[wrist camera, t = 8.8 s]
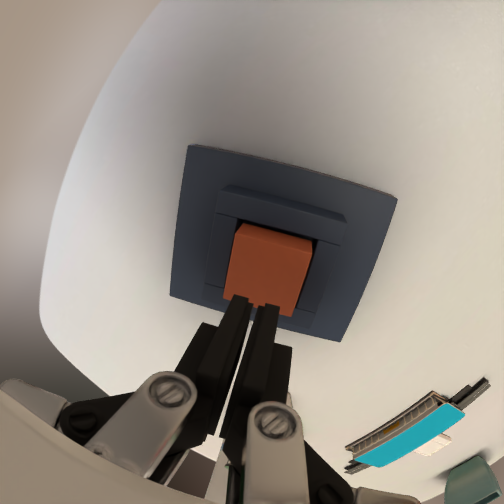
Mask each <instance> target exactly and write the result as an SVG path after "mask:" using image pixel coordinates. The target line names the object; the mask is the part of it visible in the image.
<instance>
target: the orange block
mask: <svg viewBox="0 0 504 504" xmlns="http://www.w3.org/2000/svg"><path fill="white" fill-rule="evenodd" d="M311 256H312V241H310V240H306V239H303V238H299V237H295V236H291V235H288V234H284V233H280V232H276V231H273V230H269V229H265V228H261V227H257V226H253V225H250V224H246V223H243V224H242V225H241V227H240V228H239V229H238V231H237V232H236V233H235V237H234V242H233V248H232V253H231V258H230V263H229V268H228V273H227V278H226V283H225V289H224V294H223V298H224V299H227V300H230V301H231V299H232V297H233V295H234V294H236V295H240V296H243V297H247V298H249V301H248V302H250V303H253V304H254V305H253V307H255V308H258V305H260V306H265V303H269V304H272V305H276V306H280V312H279V314H281V315H285V316H289V317H291V316H292V314H293V311H294V308H295V305H296V302H297V299H298V296H299V293H300V290H301V287H302V284H303V281H304V278H305V275H306V272H307V269H308V266H309V263H310V260H311Z"/></svg>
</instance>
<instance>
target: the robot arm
mask: <svg viewBox="0 0 504 504" xmlns="http://www.w3.org/2000/svg"><path fill="white" fill-rule="evenodd" d="M248 301H249V298H247V297H243V296H240V295H236V294H234V295H233V297H232V299H231V301H230V303H229V306H228V308H227V310H226V312H225V314H224V316H223V318H222V320H221V322H220V324H219V326H218V327H217V326H213V325H210V324H207V323H204V322H203V323H202V324H201V325H200V327H199V328H198V330H197V332H196V334H195V335H194V337H193V339H192V341H191V342H190V344H189V346H188V348H187V350H186V351H185V353H184V355H183V357H182V358H181V360H180V362H179V364H178V365H177V367H176V369H175V371H174V372H172V371H163V372H158V373H155V374H153V375H152V376H150V377H149V378H148V379H147V380H146V381H145V382H144V383H143V384H142V385H141V386H140V387H139V388H138V389H137V390H136V391H135V392H131V393H126V394H121V395H115V396H110V397H104V398H99V399H92V400H86V401H79V402H75V403H69V402H67V400H66V398H63V397H60V396H58V395H55V394H52V393H50V392H47V391H45V390H42V389H40V388H38V387H35V386H33V385H30V384H28V383H26V382H24V381H22V380H19V379H8V380H7V381H5V382H3V383H2V384H1V385H0V504H220V503H216V502H213V501H209V500H205V499H202V498H199V497H195V496H192V495H189V494H186V493H183V492H180V491H177V490H174V489H171V488H168V487H166V486H167V485H168V483H169V482H170V480H171V479H172V477H173V476H174V474H175V473H176V471H177V470H178V468H179V467H180V465H181V464H182V462H183V460H184V459H185V457H186V456H187V454H188V453H189V450H190V448H193V447H196V446H199V445H202V443H203V441H204V442H205V440H206V437H207V434H210V435H213V436H214V433H215V431H216V428H217V425H218V422H219V419H220V416H221V413H222V410H223V407H224V404H225V401H226V398H227V395H228V392H229V389H230V386H231V383H232V380H233V377H234V374H235V371H236V368H237V365H238V362H239V358H240V354H241V351H242V347H243V343H244V339H245V336H246V332H247V328H248V324H249V320H250V317H251V313H252V309H253V305H254V304H253V303H250V302H248ZM279 312H280V306H276V305H272V304H269V303H265V306H260V305H258V308H257V312H256V315H255V318H254V321H253V325H252V328H251V331H250V334H249V338H248V341H247V344H246V347H245V350H244V354H243V357H242V360H241V363H240V366H239V369H238V373H237V376H236V379H235V382H234V386H233V389H232V393H231V396H230V400H229V403H228V407H227V410H226V414H225V418H224V421H223V425H222V428H221V432H220V435H219V437H220V438H224V439H225V442H224V445H223V449H222V451H223V452H224V454H225V455H226V457H227V458H228V459H229V461H230V463H229V469H228V480H227V491H226V502H225V504H421V503H420V501H419V500H417V499H416V498H415V497H412V496H408V495H401V494H395V493H389V492H383V491H378V490H373V489H369V488H364V487H359V488H353V487H350V485H349V484H348V483H347V482H346V481H345V480H344V479H343V478H342V477H341V476H340V475H339V474H338V473H337V472H336V471H335V470H334V469H333V468H332V467H331V466H330V465H328V464H327V463H326V462H325V461H324V460H323V459H322V458H321V457H320V456H319V455H318V454H317V453H316V452H315V451H314V450H313V449H312V447H311V446H310V445H309V444H308V443H307V442H306V441H305V440H304V436H303V427H302V421H301V418H300V416H299V415H298V413H297V412H296V411H295V410H294V409H293V408H291V407H290V406H288V405H286V402H287V393H288V385H289V376H290V367H291V358H292V347H289V346H285V345H281V344H277V343H274V340H275V334H276V329H277V323H278V318H279Z"/></svg>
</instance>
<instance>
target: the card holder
mask: <svg viewBox="0 0 504 504" xmlns="http://www.w3.org/2000/svg"><path fill="white" fill-rule="evenodd" d="M488 383H489V382H488V381H486V379H485V378H483V379H482V380H481V381H480V382H479V383H478V384H477V385H475V386H474V387H473V388H472V387H470V386H469V385H467V386H466V387H465V388H464V389H462V390H461V391H460V392H459V393H458V394H456V395H455V396H454V397H453V398H451V399H450V400H449V401H448V400H446V399H445V398H443V397H442V396H440V395H439V394H437V393H435V392H434V391H431V392H430V393H429V394H428V395H426V396H425V397H424V398H422V399H421V400H420V401H418V402H417V403H415V404H414V405H413V406H411V407H410V408H408V409H407V410H406V411H404V412H403V413H401V414H400V415H398V416H397V417H395V418H394V419H392V420H391V421H389V422H387V423H386V424H384V425H383V426H381V427H379V428H378V429H376V430H375V431H373V432H371V433H369V434H368V435H366V436H364V437H363V438H361V439H359V440H357V441H355V442H354V443H352V444H350V445H348V446H346V447H345V448H346V450H348V451H352V452H353V453H352V455H353V459H354V458H355V459H354V460H351V461H349V462H348V463H351V464H353V465H351V466H349V467H347V468H345V469H347V470H348V471H346V472H344V473H348V474H351V475H352V474H354V473H357V472H359V471H361V470H363V469H366V468H369V467H370V466H375V467H383V466H385V465H387V464H389V463H391V462H393V461H395V460H397V459H399V458H401V457H403V456H404V455H406V454H408V453H410V452H412V451H414V452H417V453H420V454H423V455H426V456H430V455H432V454H433V453H435V452H437V451H438V450H440V449H442V448H443V447H445V446H446V445H448V444H449V443H451V442H452V440H451V438H450V437H448V436H445V435H443V434H441V433H442V432H444V431H445V430H447V429H448V428H449V427H451V426H452V425H454V424H455V423H457V422H458V421H459V420H461V419H462V418H463V417H464V416H465V413H464V412H462V410H463V409H464V408H466V407H467V406H468V405H469V404H471V403H472V402H473V401H474V400H475V399H476V398H478V397H479V396H480V395H481V394H482V393H483V392H485V391H486V390H487V389H488V388H489V387H490V386H491V385H490V384H488ZM481 384H482V385H481ZM487 384H488V385H487ZM480 385H481V386H480ZM486 385H487V386H486ZM479 386H480V387H479ZM485 386H486V387H485ZM478 387H479V388H478ZM484 387H485V388H484ZM479 391H480V392H479ZM478 392H479V393H478ZM477 393H478V394H477ZM473 396H474V397H473ZM446 401H447V402H446ZM352 455H351V456H352ZM355 466H356V467H355ZM353 467H354V468H353ZM351 468H352V469H351ZM359 468H360V469H359ZM349 469H350V470H349ZM356 469H357V470H356ZM354 470H355V471H354ZM352 471H353V472H352ZM350 472H351V473H350Z"/></svg>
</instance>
